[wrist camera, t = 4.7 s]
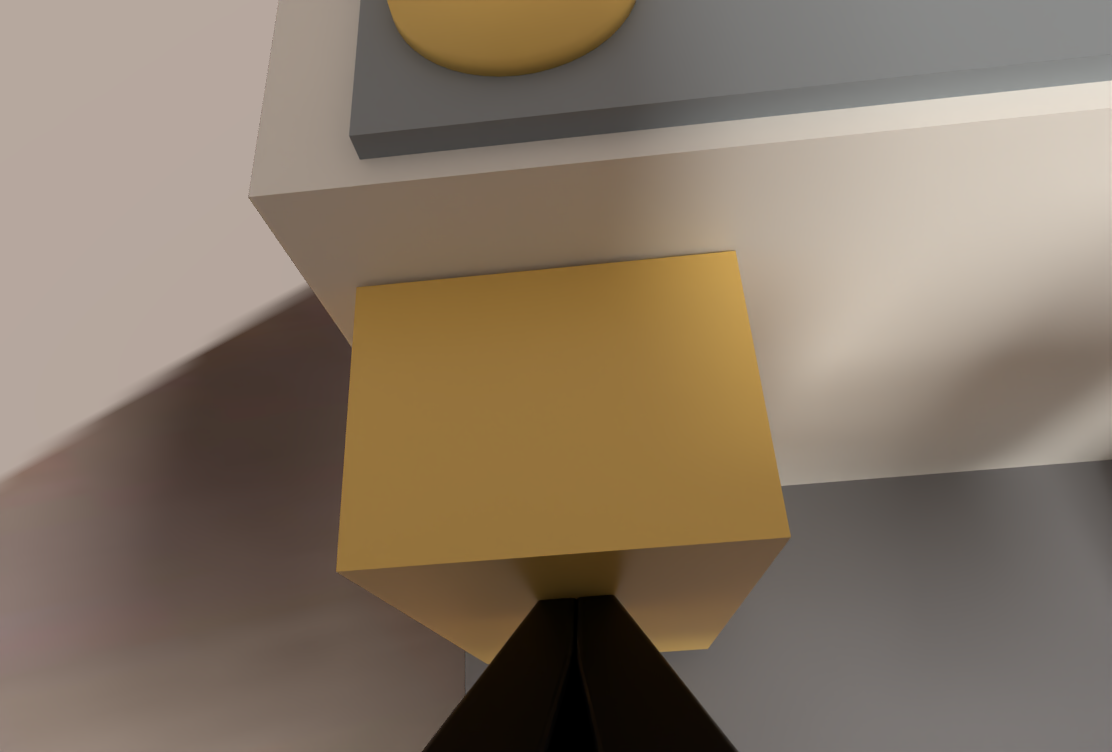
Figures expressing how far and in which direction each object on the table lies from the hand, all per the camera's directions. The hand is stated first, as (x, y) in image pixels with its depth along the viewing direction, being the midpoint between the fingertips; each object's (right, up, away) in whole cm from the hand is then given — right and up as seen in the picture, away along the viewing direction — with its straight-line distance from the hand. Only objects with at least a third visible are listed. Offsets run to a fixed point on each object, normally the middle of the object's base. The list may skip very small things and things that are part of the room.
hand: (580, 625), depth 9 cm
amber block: (0, -1, +6) cm, 6 cm away
